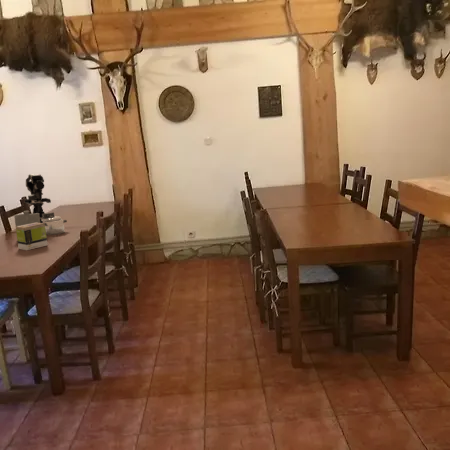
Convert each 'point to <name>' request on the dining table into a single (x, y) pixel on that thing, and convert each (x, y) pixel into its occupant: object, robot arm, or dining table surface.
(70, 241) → the dining table surface
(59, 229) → the cooker pot
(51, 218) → the cooker lid
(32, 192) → the robot arm
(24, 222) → the hip flask
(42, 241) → the tea box
